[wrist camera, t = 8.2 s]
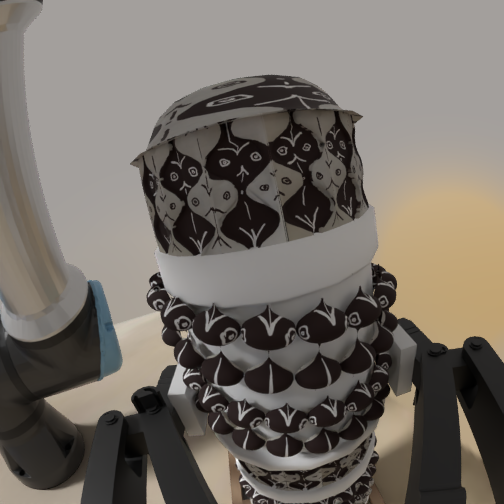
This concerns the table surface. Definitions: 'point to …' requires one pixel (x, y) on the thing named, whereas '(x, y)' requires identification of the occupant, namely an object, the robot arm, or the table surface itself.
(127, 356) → the table surface
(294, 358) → the decorative candle
